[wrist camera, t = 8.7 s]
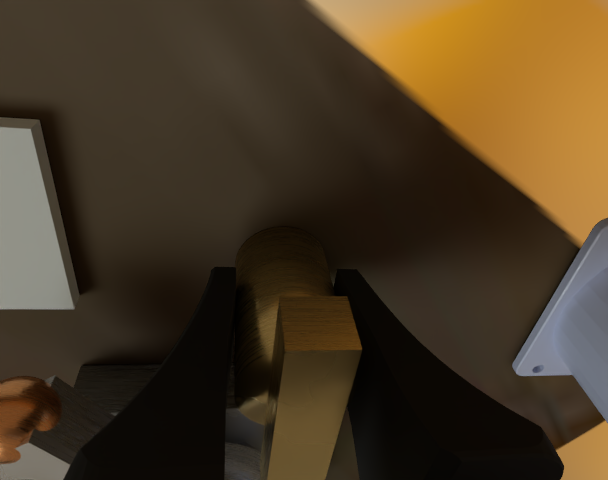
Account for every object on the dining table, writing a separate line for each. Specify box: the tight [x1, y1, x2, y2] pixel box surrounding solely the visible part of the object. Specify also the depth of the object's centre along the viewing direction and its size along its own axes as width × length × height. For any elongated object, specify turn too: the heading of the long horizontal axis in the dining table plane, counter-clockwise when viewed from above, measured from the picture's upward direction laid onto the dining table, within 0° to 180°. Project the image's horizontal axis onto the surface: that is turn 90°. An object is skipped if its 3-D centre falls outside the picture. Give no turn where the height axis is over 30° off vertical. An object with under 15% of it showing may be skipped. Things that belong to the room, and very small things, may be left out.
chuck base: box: [74, 363, 264, 452], centre depth 19 cm, size 9×9×2 cm
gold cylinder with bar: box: [234, 227, 362, 480], centre depth 12 cm, size 3×6×6 cm, turn 173°
